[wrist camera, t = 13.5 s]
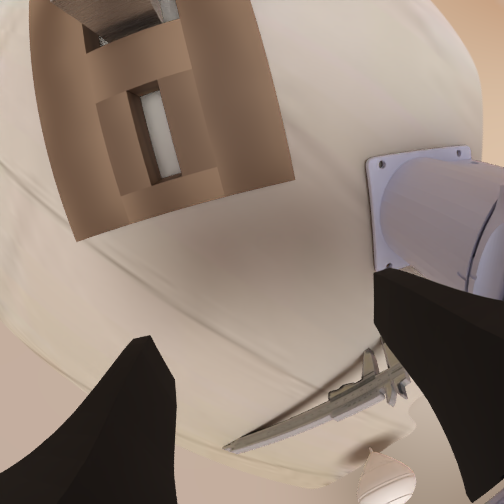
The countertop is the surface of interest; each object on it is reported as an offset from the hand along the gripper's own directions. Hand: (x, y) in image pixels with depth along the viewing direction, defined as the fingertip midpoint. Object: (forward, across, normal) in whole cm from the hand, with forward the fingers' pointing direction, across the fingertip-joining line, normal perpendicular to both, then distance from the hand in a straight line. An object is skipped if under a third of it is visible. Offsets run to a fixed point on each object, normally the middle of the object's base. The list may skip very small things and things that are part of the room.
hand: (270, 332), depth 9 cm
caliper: (+10, -1, +17) cm, 20 cm away
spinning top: (+9, -9, +33) cm, 36 cm away
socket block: (+10, +3, -11) cm, 15 cm away
